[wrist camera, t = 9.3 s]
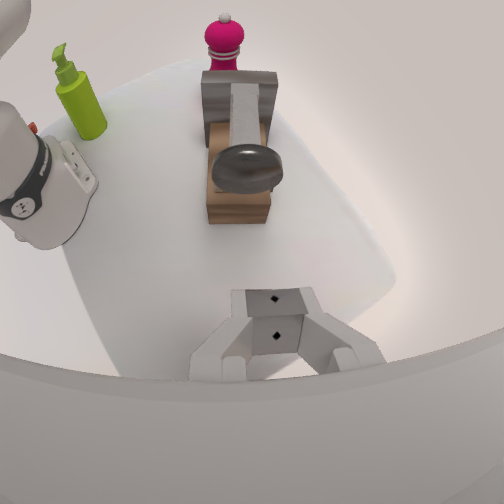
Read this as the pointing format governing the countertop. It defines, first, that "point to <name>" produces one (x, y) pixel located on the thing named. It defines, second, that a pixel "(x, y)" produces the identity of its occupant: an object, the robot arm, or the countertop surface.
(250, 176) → the plunger
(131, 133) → the countertop surface
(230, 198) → the stand
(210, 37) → the pepper mill
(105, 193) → the countertop surface
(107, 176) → the countertop surface
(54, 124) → the countertop surface
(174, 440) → the robot arm
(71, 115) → the soap dispenser
